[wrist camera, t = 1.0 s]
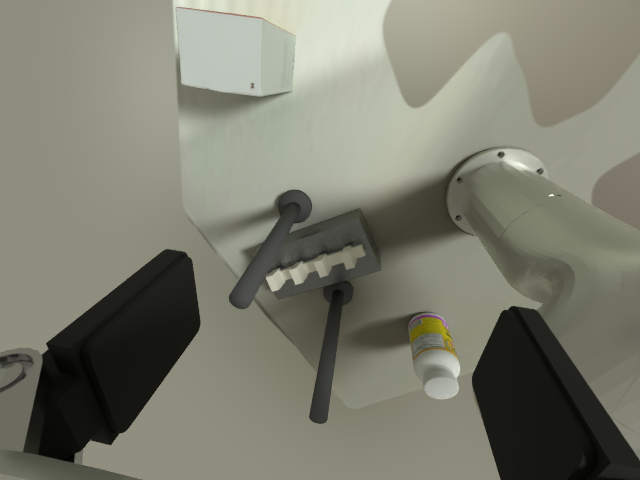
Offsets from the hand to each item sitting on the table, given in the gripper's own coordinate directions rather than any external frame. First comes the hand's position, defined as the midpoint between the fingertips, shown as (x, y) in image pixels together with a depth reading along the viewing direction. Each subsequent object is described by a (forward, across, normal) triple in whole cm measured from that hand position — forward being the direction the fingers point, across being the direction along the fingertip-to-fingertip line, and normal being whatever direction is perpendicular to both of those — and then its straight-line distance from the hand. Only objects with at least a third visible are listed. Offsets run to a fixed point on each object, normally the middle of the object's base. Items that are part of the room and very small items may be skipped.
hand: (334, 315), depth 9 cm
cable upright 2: (+37, +1, +26) cm, 45 cm away
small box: (+36, +14, -8) cm, 40 cm away
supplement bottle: (+37, -15, +31) cm, 51 cm away
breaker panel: (+36, +5, +19) cm, 42 cm away
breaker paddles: (+32, +5, +19) cm, 38 cm away
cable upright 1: (+36, +10, +12) cm, 39 cm away
